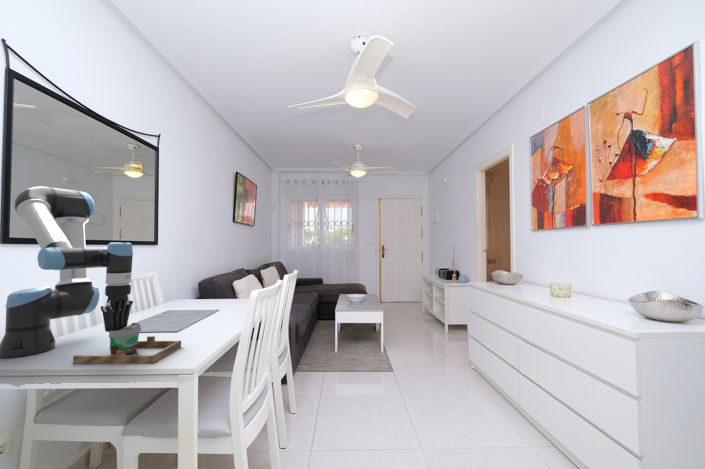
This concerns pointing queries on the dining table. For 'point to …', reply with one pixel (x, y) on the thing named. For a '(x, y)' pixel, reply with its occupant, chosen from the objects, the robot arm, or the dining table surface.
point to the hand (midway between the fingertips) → (115, 349)
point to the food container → (125, 339)
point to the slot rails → (123, 358)
